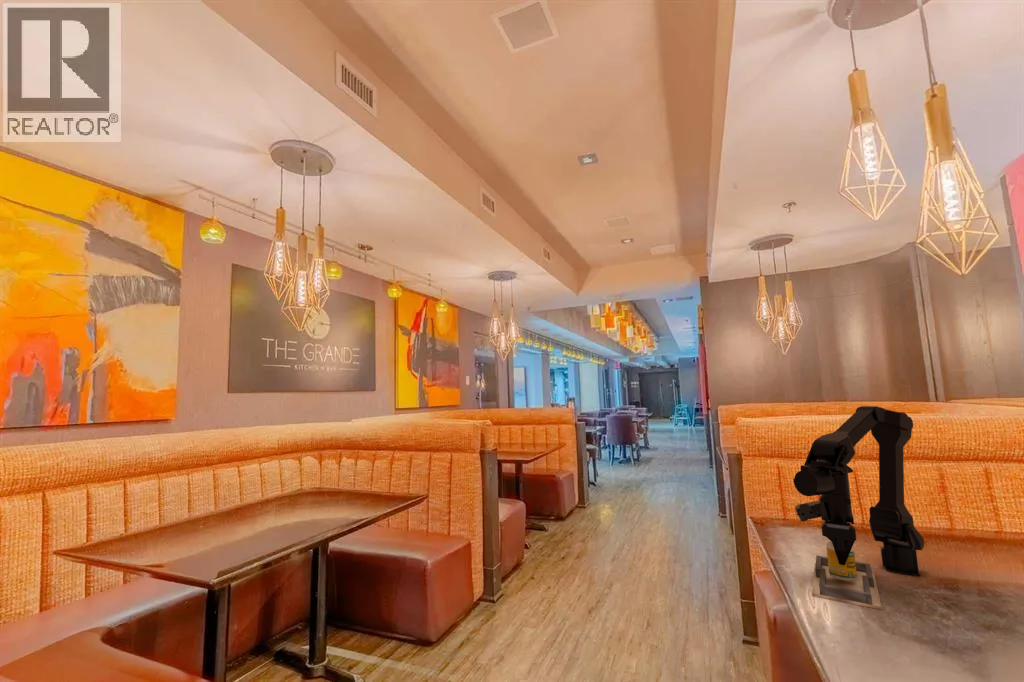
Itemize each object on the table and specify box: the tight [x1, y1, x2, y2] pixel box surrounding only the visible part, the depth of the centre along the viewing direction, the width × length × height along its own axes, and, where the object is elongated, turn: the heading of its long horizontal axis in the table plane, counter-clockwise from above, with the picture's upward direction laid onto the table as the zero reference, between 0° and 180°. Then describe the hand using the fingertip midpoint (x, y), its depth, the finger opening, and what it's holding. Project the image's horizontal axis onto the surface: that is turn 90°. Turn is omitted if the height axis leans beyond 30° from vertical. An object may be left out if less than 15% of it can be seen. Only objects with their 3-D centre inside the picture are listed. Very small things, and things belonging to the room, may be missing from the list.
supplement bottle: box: [826, 540, 857, 581], centre depth 107 cm, size 5×5×10 cm
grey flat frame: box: [811, 555, 883, 611], centre depth 105 cm, size 12×22×3 cm, turn 145°
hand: (841, 561), depth 106 cm, fingers closed on supplement bottle, 5 cm apart
